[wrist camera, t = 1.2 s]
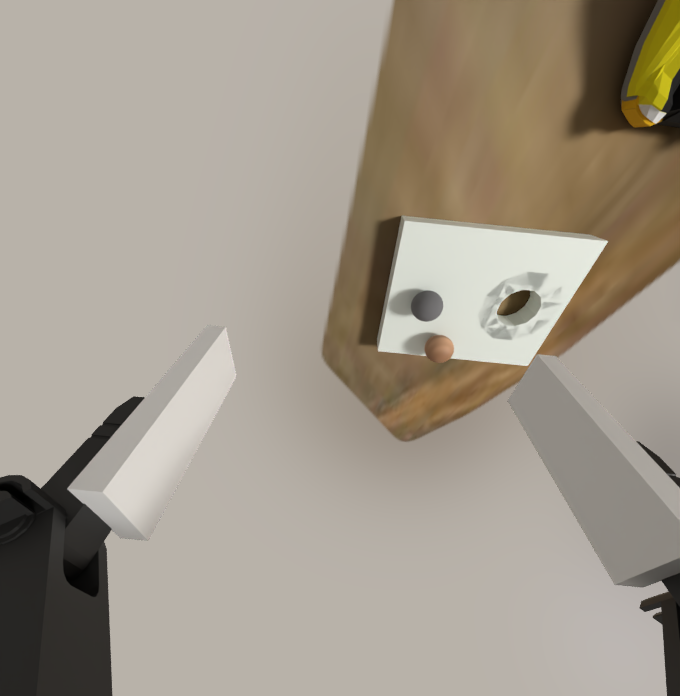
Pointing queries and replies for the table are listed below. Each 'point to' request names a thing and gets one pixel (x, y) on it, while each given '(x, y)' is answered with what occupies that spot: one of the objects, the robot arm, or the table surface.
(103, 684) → the robot arm
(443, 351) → the wood ball
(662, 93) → the gaming controller
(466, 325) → the plate
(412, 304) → the ball
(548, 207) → the table surface
